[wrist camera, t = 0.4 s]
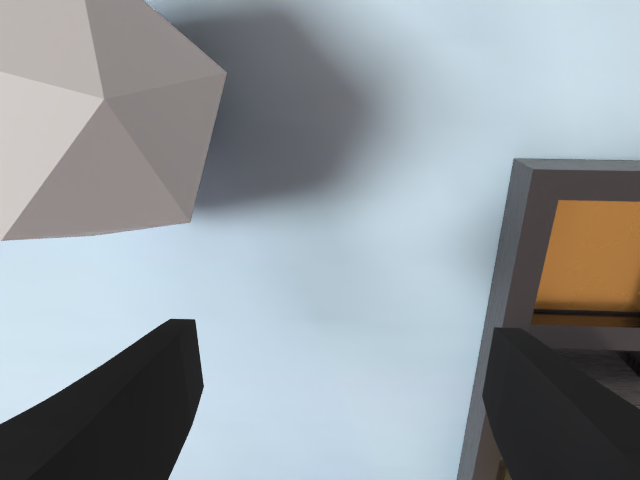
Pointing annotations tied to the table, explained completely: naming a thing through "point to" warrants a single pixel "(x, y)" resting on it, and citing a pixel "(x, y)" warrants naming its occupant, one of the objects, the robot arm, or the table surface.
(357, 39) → the table surface
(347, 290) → the table surface
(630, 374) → the matte gray cube
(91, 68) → the die
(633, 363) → the rail
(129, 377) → the robot arm
